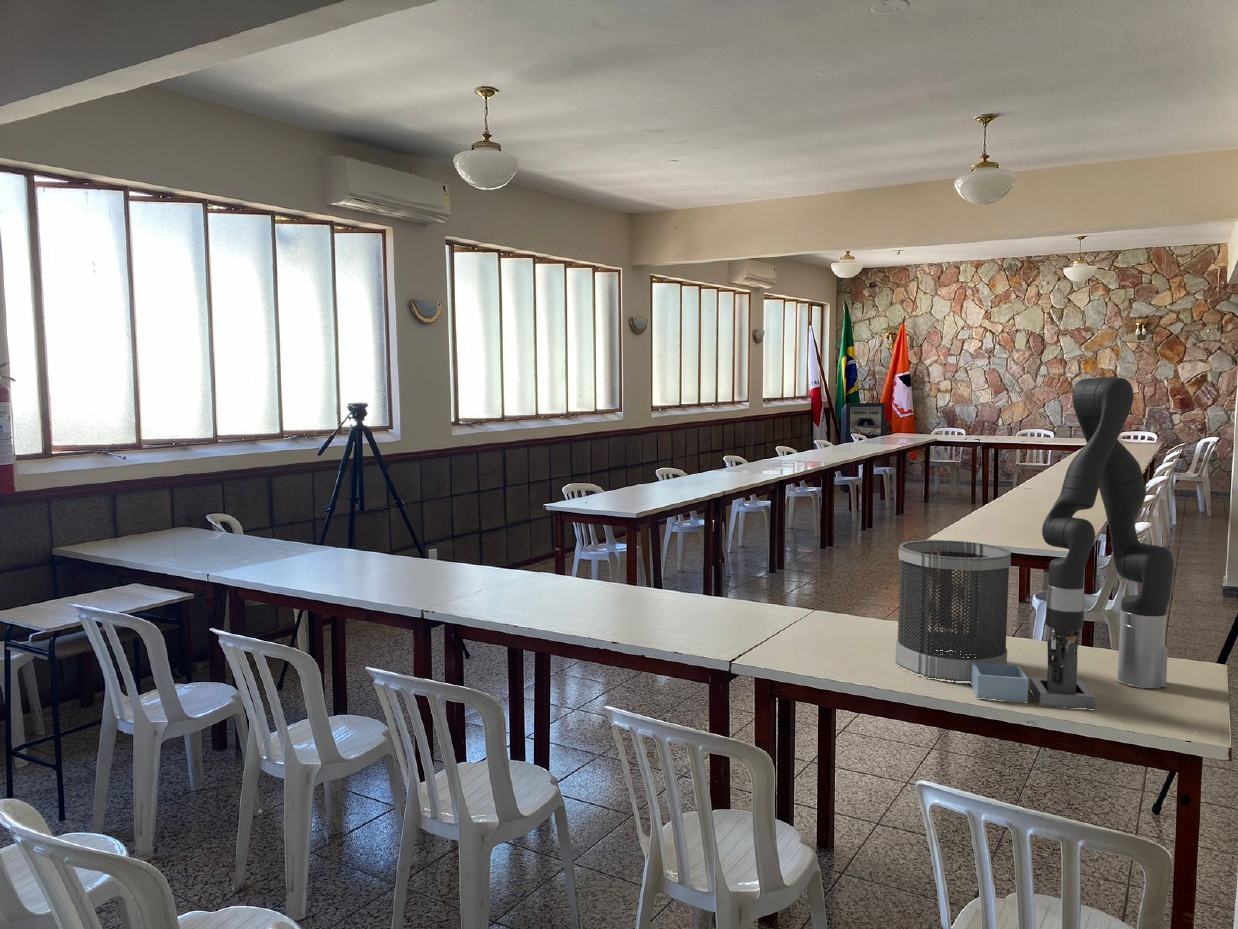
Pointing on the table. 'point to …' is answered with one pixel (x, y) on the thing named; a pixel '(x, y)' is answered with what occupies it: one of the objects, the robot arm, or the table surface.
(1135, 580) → the robot arm
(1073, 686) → the bottle
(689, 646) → the table surface
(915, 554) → the wastebasket
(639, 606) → the table surface
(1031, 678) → the collar
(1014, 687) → the bin
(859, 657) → the table surface
